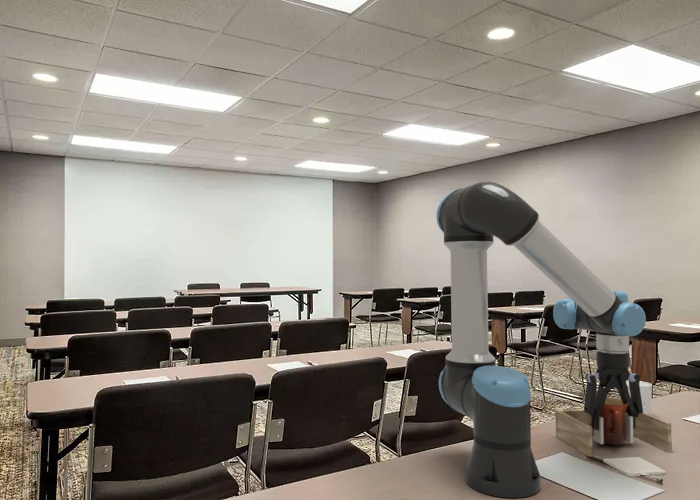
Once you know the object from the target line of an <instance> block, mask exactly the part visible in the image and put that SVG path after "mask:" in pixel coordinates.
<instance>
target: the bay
mask: <svg viewBox="0 0 700 500" xmlns="http://www.w3.org/2000/svg"><path fill="white" fill-rule="evenodd" d="M626 414H627V413H626ZM635 424H636V427H635V429H633V437H635V438H637V439H639V440H642V441H644V442H645V443H648V444H650V445H653V446H655V447H656V448H659V449H660V450H663V451H665V452H667V453H673V443H672V441H673V440H672V422H669V421H666V420H664V419H661V418H659V417H657V416H653V415H652V414H651V415H649V414H646V413H644V412H643V413H642V414H640V413H639V416H638V417H635ZM555 437H556V438H558V439H559V440H561V441H562V442H564V443H565V444H567V445H569V446H571V448H574V449H576V451H579V452H581V453H582V454H584V455H585V456H587V457H593V437H594V429H593V428H592V418H591V415H590V414H588V413H585V412H584V408H583V409H582V408H581V409H560V410H559V409H558V410H557V409H556V410H555Z"/></svg>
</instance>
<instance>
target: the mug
mask: <svg viewBox="0 0 700 500" xmlns="http://www.w3.org/2000/svg"><path fill="white" fill-rule="evenodd" d="M628 405H629V403H627V404H625V405H623V402H622V400H621V398H617V397H611V396H610V397H609V396H607V398H606V401H605V404H604V406H603V409H602V412H601V415H600V417H603V437H604V444H608V445H616V446H617V445H622V444H624V443H625V442H626V441H625V438H626V411H627V408H628Z"/></svg>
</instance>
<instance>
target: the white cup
mask: <svg viewBox="0 0 700 500" xmlns="http://www.w3.org/2000/svg"><path fill="white" fill-rule="evenodd" d="M626 384H627V386H628V389H629V390H628V392H629V395H630V388H629V380H627V381H626ZM639 386H640V393H641V400H642V407H643V412H644V413H646V414H649V415H652V414H651V412H652V411H651V410H652V401H653V400H652V399H653V398H652V397H653V396H652V395H653V384H652V383H650V382H646V381H641V380H640V383H639ZM630 397H631V395H630Z"/></svg>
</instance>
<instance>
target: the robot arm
mask: <svg viewBox="0 0 700 500" xmlns="http://www.w3.org/2000/svg"><path fill="white" fill-rule="evenodd" d="M436 222H437V223H436V224H437V225H438V227H439V229H440V230H441V232H442V233H443V245H444V246H445V247H447V249H448V250H449V251H450V252H449V253H450V297H451V299H450V302H451V303H450V306H451V308H450V309H451V310H450V311H451V312H450V313H451V314H450V315H451V317H450V318H451V350H450V352H449V353H448V354H446V356H445V366H444V368H443V370H441V372H440V374H439V377H438V389H439V393H440V395H441V399H442V400H443V401H444V402H445V403H446V404H447V405H448V406H449V407H450V408H452V410H453V411H455V412H456V413H459V414H462V415H463V416H466V417H467V418H469V419H471V420H473V426H472V427H473V444H472V448H471V451H470V454H469V457H468V461H467V463H466V467H465V482H466V483H467V485H468V486H469V487H471V488H472V489H474V490H476V491H477V492H480V493H483V494H486V495H489V496H494V497H500V498H510V499H511V498H512V499H514V498H525V497H526V498H527V497H531V496H533V495H536V494H537V493H538V492H540V490H541V485H542V484H541V475H540V470H539V468H538V465H537V462H536V460H535V459H536V458H535V456H534V453H533V451H532V450H533V449H532V443H531V442H532V439H531V438H532V436H531V435H532V434H531V433H532V432H531V430H532V428H531V427H532V426H531V425H532V423H531V399H532V393H531V386H530V380H529V378H528V377H527V376H526V375H525V374H524V373H523V372H522V371H519V370H517V369H514V368H511V367H505V366H499V365H496V357H495V356H494V355H493V354H492V353H491V352H490V351H489V307H488V306H489V301H488V299H489V297H488V291H489V289H488V249H490V247H492V245H494V237H495V238H497V239H499V240H500V241H501V242H502V243H503V244H504V245H506V246H510V247H511V246H513V247H514V248H515V249H516V250H518V251H519V252H520V253H521V254H522V255H523V256H524V257H525V258H526V259H527V260H529V261H530V262H531V263H532V264H533V265H534V266H535V267H536V268H537V269H539V271H540V272H541V273H542V274H544V276H546V277H547V278H548V279H549V280H550V281H551V282H552V283H553V284H554V285H555V286H557V287H558V288H559V289H560V290H561V291H562V292H563V293H564V294H565V295H566V296H567V297H568V298H563V299H562V298H561V299H559V300H557V301H556V303H555V304H554V306H553V310H552V313H553V314H552V317H553V320H554V323H555V324H556V326H558V328H560V329H564V330H572V331H573V330H584V331H590V332H595V335H596V336H595V338H596V339H595V340H596V342H595V346H596V349H597V351H596V366H597V369H596V371H595V373H591V374H590V373H586V374H585V379H586V380H585V381H586V387H585V395H584V404H583V409H584V412H585V413H588V414H590V415H591V418H592V428H593V429H594V436H593V438H594V442H596V443H598V444H600V445H604V444H605V443H604V437H603V417H600V415H601V412H602V409H603V406H604V404H605V401H606V398H607V397H608V395H609V393H610V392H611V390H613V389H616V390H617V392H618V394H619V397H620V399H621V400H622V402H623V405H625V404H627V403H629V405H628V408H627V411H626V413H627V414H626V438H625V442H626V443H627V442H628V443H630V444H634V436H633V429H635V427H636V424H635V417H638V416H639V413H640V414H642V413H643V407H642V400H641V393H640V386H639V383H640V381H641V375H640V374H638V373H633V372H630V370H629V369H630V368H629V367H630V354H629V353H628V351H630V337H634V336H635V337H636V336H637V335H639V334H640V333H641V332H642V331H643V330H644V328H645V326H646V323H647V320H646V319H647V318H646V317H647V316H646V313H645V311H644V309H643V308H642V307H641V306H640V305H639V304H637V303H635V302H631V301H629V296H628V293H626V291H621V290H620V291H619V290H616V291H615V290H612V289H611V288H609V286H607V285H606V284H605V282H603V281H602V280H601V278H599V276H597V275H596V274H595V273H594V272H593V271H592V270H590V269H589V267H587V265H585V263H584V262H582V261H581V260H580V259H579V257H577V256H576V254H574V253H573V252H572V251H571V250H570V249H569V248H568V247H567V246H566V245H565V244H564V243H563V242H562V241H561V240H559V239H558V238H557V237H556V236H555V235H554V233H553V232H551V231H550V230H549V229H548V228H547V227H546V226H545V225H544V224H543V223H542V222H541V221H540V213H538V212H537V211H536V210H535V208H533V207H532V206H531V205H530V204H529V203H528V202H527V201H526V200H524V199H523V198H522V197H521V196H519V195H518V194H517V193H516V192H514V191H512V190H511V189H510V188H508V187H506V186H504V185H501V184H499V183H497V182H494V181H493V182H492V181H480V182H477V183H474V184H471V185H469V186H466V187H463V188H457V189H455V190H453V191H451V192H450V193H449V194H447V195H446V196H445V197H443V199H442V200H440V203H439V204H438V206H437V210H436ZM626 381H629V388H630V395H631V397H630V395H629V392H628V390H629V389H628V386H627V384H626ZM598 382H599V383H598Z"/></svg>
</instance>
